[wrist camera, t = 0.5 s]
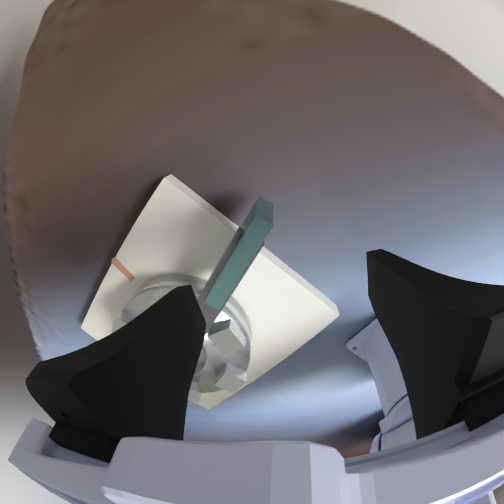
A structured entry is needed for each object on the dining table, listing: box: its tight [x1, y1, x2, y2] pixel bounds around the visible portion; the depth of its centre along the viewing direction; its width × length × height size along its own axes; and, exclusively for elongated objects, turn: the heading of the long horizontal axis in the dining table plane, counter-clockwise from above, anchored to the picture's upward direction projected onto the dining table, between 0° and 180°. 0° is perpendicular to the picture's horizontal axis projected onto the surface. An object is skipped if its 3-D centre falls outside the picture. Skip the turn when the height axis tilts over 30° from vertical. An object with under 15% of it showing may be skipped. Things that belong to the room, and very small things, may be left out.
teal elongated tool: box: [111, 196, 273, 402], centre depth 19 cm, size 18×11×5 cm, turn 150°
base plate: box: [81, 174, 340, 410], centre depth 24 cm, size 17×19×2 cm
